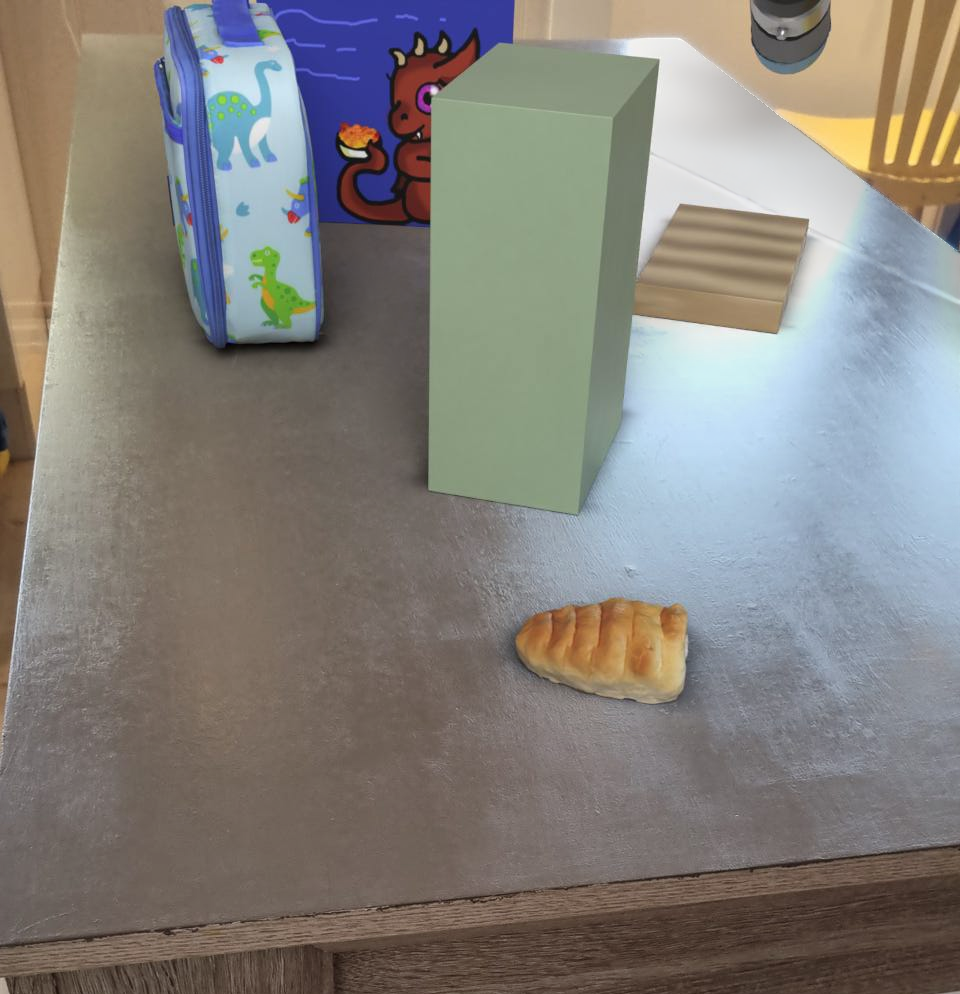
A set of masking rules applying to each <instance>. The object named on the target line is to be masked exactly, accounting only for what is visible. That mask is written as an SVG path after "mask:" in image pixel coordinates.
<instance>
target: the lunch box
mask: <svg viewBox="0 0 960 994" xmlns="http://www.w3.org/2000/svg"><path fill="white" fill-rule="evenodd" d="M163 19H164V27H163V55H164V56H162V57H158V58H157V60H156V62H155V63H154V65H153V72H154V73H153V74H154V81H155V86H156V90H157V93H158V96H159V104H160V107H161V108H160V109H161V112H160V113H161V122H162V132H163V142H164V150H165V157H166V166H167V173H168V174H167V176H166V180H167V187H168V188H167V189H168V196H169V204H170V210H171V211H170V212H171V217H172V218H171V219H172V226H173V227H174V228H175V235H176V240H177V247H178V251H179V256H180V262H181V267H182V268H181V269H182V272H183V276H184V281H185V286H186V290H187V295H188V298H189V301H190V306H191V309H192V312H193V315H194V317H195V319H196V321H197V323H198V325H199V326H200V327H201V328H202V330H203V332H204V335H205V337H206V338H207V340H208V342H209V343H211V344H213V346H214V347H216V348H218V349H224V348H225V347H226V344H227V343H230V344H235V345H236V344H237V345H244V344H256V345H257V344H266V343H267V344H268V343H282V344H283V343H290V342H291V343H292V342H296V343H304V342H310V343H311V342H312V343H314V342H315V341H317V340H319V339H320V330H321V328H322V326H323V323H324V320H325V319H324V317H325V302H324V284H323V264H322V248H321V245H322V244H321V233H320V222H319V219H318V205H317V190H316V180H315V171H314V162H313V155H312V147H311V140H310V133H309V127H308V121H307V115H306V110H305V106H304V102H303V99H302V95H301V92H300V89H299V86H298V83H297V77H296V68H295V61H294V58H293V55H292V53H291V51H290V49H289V48H288V46H287V44H286V41H285V40H284V38H283V36H282V34H281V32H280V30H279V28H278V25H277V22H276V19H275V17H274V14H273V10H272V8H270V7H268V5H267V4H265V3H256V2H251V3H250V0H211V3H193V4H191V5H190V4H189V5H187V6H185V7H183V9H182V8H181V6H179V5H175V4H174V5H173V6H172V7H168V8H167V10H164V11H163Z"/></svg>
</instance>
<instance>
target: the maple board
mask: <svg viewBox="0 0 960 994" xmlns="http://www.w3.org/2000/svg"><path fill="white" fill-rule="evenodd" d="M809 224H810V218H804V217H797V216H788V215H779V214H771V213H762V212H755V211H746V210H737V209H731V208H722V207H713V206H706V205H705V206H704V205H696V204H689V203H682V202H681V203H679V204H678V206H677V208H676V209H675V211H674V213H673V215H672V216H671V219H670V221H669V222H668V224H667V226H666V228H665V230H664V231H663V233H662V235H661V237H660V239H659V240H658V243H657V244H656V246H655V248H654V249H653V251H652V253H651V255H650V257H649V258H648V261H647V262H646V264H645V266H644V268H643V269H642V271H641V273H640V275H639V277H637V279H636V287H635V296H634V305H633V315H638V316H644V317H652V318H658V319H659V318H660V319H668V320H674V321H681V322H689V323H695V324H703V325H710V326H717V327H725V328H732V329H739V330H747V331H748V330H749V331H753V332H762V333H768V334H769V333H770V334H778V333H779V331H780V327H781V324H782V321H783V318H784V315H785V311H786V309H787V304H788V301H789V299H790V295H791V291H792V290H793V289H792V288H793V285H794V282H795V278H796V277H797V273H798V269H799V266H800V263H801V259H802V256H803V254H804V253H803V252H804V250H805V246H806V242H807V236H808V229H809Z"/></svg>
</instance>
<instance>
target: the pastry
mask: <svg viewBox="0 0 960 994" xmlns="http://www.w3.org/2000/svg"><path fill="white" fill-rule="evenodd" d="M688 628H689V615H688V611H687V610H686V608H685V607H684V606H683V605H681V604H680V603H678V602H677V603H674V604H672V605H671V606H664V605H661V604H659V603H649V602H644V601H642V600H631V599H627V598H626V597H623V596H622V597H621V596H620V597H610V598H609V599H606V600H605V601H602V602H598V603H591V604H585V605H581V606H580V605H575V604H569V605H564V606H563V607H560V608H557V609H555V608H554V609H553V608H552V609H550V610H546V611H544V612H538V613H535V614H534V615H532V616H531V617H530V618H528V619H527V620H526V621H525V622H524V623H523V625H522V627H521V629H519V632H518V634H516V637H515V640H514V644H515V651H516V654H517V655H518V657H519V658H520V659H519V660H521V662H522V663H523V665H525V667H526V668H527V669H528V670H529V671H531V672H533V673H535V674H536V675H538V677H539V678H545V679H548V680H549V681H550V682H551V683H554V684H562V685H566V686H568V687H571V688H573V689H574V690H575V691H577V692H584V693H587V694H595V695H597V696H601V697H604V698H611V699H617V700H624V699H631V700H634V701H636V702H637V703H642V704H649V705H650V704H652V705H653V704H663V703H668V702H669V703H670V702H673V701H676V700H677V699H678V697H679V695H680V694H681V693H682V692H683V690H684V687H685V681H686V675H687V664H686V659H687V657H688V654H689V634H688V630H689V629H688Z"/></svg>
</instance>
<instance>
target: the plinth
mask: <svg viewBox="0 0 960 994" xmlns="http://www.w3.org/2000/svg"><path fill="white" fill-rule="evenodd" d="M660 61H661V60H660V58H654V57H645V56H634V55H625V54H615V53H605V52H595V51H584V50H575V49H566V48H555V47H548V46H547V47H546V46H535V45H528V44H516V43H513V44H508V43H498V44H497V45H496V46H494V47H493V48H492V49H491V50H489V51H488V52H487V53H486V54H485V55H483V56H482V57H481V58H480V59H478V60H477V61H476V62H475V63H474V64H472V65H471V66H470V67H469V68H467V69H466V70H465V71H464V72H463V73H461V74H460V75H459V76H458V77H456V78H455V79H454V80H453V81H452V82H450V83H449V84H448V85H447V86H445V87H444V88H443V89H442V90H441V91H439V92H438V93H437V94H436V95H434V96H433V97H432V98H431V206H430V227H429V341H428V343H429V345H428V347H429V348H428V349H429V353H428V459H427V461H428V465H427V466H428V468H427V469H428V471H427V474H428V476H427V478H428V479H427V484H428V485H427V488H428V489H427V490H428V491H429V492H434V493H440V494H447V495H452V496H459V497H463V498H471V499H476V500H483V501H489V502H496V503H500V504H501V503H502V504H507V505H513V506H519V507H525V508H530V509H532V508H533V509H538V510H544V511H549V512H556V513H562V514H567V515H574V516H578V515H579V513H580V512H581V509H582V508H583V505H584V503H585V501H586V499H587V496H588V495H589V492H590V491H591V488H592V487H593V484H594V482H595V481H596V477H597V476H598V473H599V471H600V469H601V467H602V465H603V463H604V460H605V459H606V456H607V454H608V453H609V450H610V448H611V446H612V444H613V442H614V440H615V438H616V436H617V433H618V431H619V429H620V427H621V424H622V416H623V408H624V397H625V389H626V380H627V371H628V360H629V352H630V342H631V333H632V332H631V331H632V323H633V315H634V314H633V305H634V296H635V287H636V282H637V278H638V277H637V276H638V268H639V267H638V266H639V257H640V247H641V238H642V232H643V231H642V229H643V221H644V220H643V219H644V211H645V201H646V193H647V192H646V191H647V184H648V173H649V165H650V156H651V155H650V154H651V145H652V136H653V126H654V117H655V108H656V98H657V88H658V80H659V71H660V63H661V62H660Z"/></svg>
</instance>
